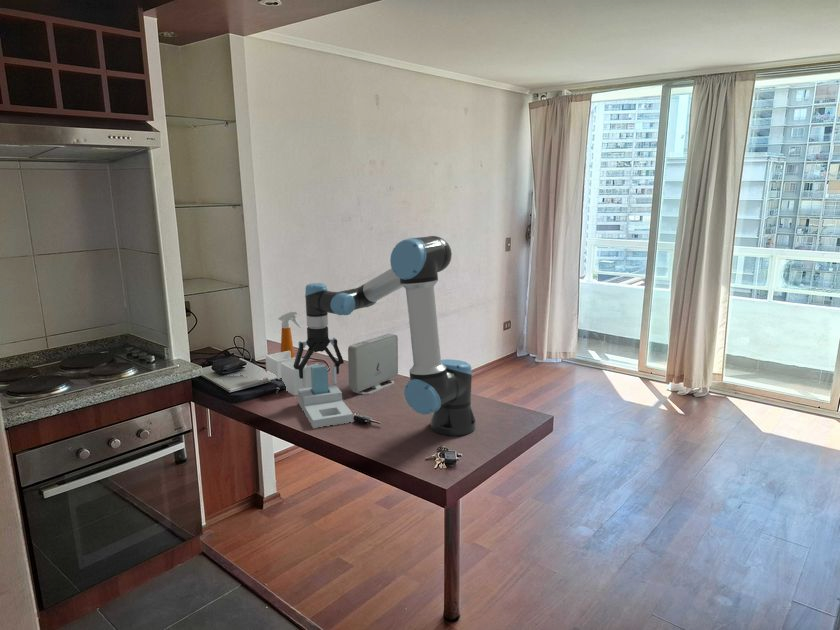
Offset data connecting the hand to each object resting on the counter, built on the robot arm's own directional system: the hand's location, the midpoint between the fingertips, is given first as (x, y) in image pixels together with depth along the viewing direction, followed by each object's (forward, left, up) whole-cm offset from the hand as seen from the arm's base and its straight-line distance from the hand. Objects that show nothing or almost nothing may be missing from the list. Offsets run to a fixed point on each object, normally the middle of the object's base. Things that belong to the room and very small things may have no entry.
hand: (319, 384), depth 207 cm
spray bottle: (+50, +1, -9) cm, 51 cm away
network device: (+12, -25, -9) cm, 29 cm away
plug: (0, 0, -5) cm, 5 cm away
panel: (-7, 0, -8) cm, 11 cm away
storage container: (+28, +5, -9) cm, 30 cm away
